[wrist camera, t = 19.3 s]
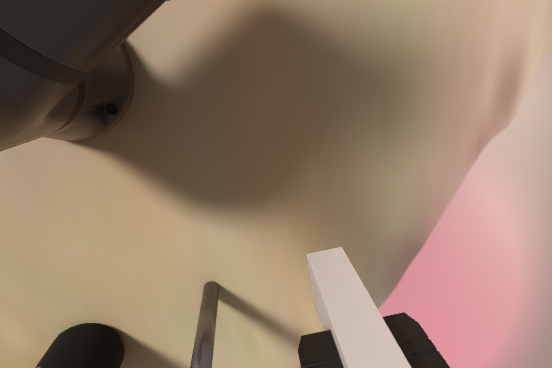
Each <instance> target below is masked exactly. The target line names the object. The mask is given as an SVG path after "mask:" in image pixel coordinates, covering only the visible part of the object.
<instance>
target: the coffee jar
mask: <svg viewBox="0 0 552 368" xmlns="http://www.w3.org/2000/svg"><path fill="white" fill-rule="evenodd" d="M123 358H124V346H123V344H122V341H121V339H120V337H119V335H118V334H116V333H115V332H114V331H113V330H112V329H110V328H108V327H106V326H104V325H99V324H95V323H84V324H80V325H76V326H74V327H71V328H69V329H67V330H65V331H64V332H62V333H60V334H59V335H58V337H57V338H56V339H55V340H54V342H53V343H52V344H51V346H50V347H49V349H48V350H47V352H46V353H45V355H44V356H43V357H42V359H41V360H40V362H39V363H38V365H37V366H36V368H120V366H121V364H122V361H123Z"/></svg>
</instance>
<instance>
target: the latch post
mask: <svg viewBox="0 0 552 368" xmlns="http://www.w3.org/2000/svg"><path fill="white" fill-rule="evenodd" d="M218 297H219V285H218V284H217V283H216V282H208V283H206V284H205V285H204V289H203V295H202V301H201V307H200V313H199V319H198V325H197V331H196V337H195V343H194V349H193V355H192V361H191V367H190V368H212V359H213V349H214V338H215V328H216V318H217V307H218Z"/></svg>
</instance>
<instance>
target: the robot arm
mask: <svg viewBox="0 0 552 368" xmlns="http://www.w3.org/2000/svg"><path fill="white" fill-rule="evenodd" d="M165 1H166V0H0V151H3V150H6V149H9V148H12V147H15V146H17V145H20V144H23V143H26V142H29V141H32V140H35V139H38V138H41V137H47V138H52V139H58V140H81V139H86V138H90V137H93V136H95V135H98V134H100V133H102V132H105V131H107V130H108V129H110V128H111V127H113V126H114V125H115V124H117V123H118V122H119V121H120V120H121V118H122V117H123V116H124V114H125V113H126V111H127V109H128V107H129V105H130V102H131V99H132V95H133V88H134V78H133V71H132V66H131V62H130V59H129V57H128V54H127V52H126V50H125V48H124V46H123V44H122V43H123V42H124V41H125V40H126V39H127V38H128V37H129V36H130V35H131V34H132V33H133V32H134V31H135V30H136V29H137V28H138V27H139V26H140V25H141V24H142V23H143V22H144V21H145V20H146V19H148V18H149V17H150V16H151V15H152V14H153V13H154V12H155V11H156V10H157V9H158V8H159V7H160V6H161V5H162V4H163V3H164V2H165ZM167 1H170V0H167ZM307 259H308V266H309V272H310V278H311V285H312V291H313V297H314V304H315V308H316V311H317V314H318V317H319V320H320V323H321V326H322V329H323V331H322V332H318V333H313V334H309V335H304V336H301V340H300V344H299V348H298V354H299V359H300V364H301V368H450V367H449V366H448V364H447V363H446V361H445V360H444V358H443V357H442V356H441V354H440V353H439V352H438V351H437V350H436V347H435V346H434V344H433V343H432V342H431V340H430V339H428V336H427V335H426V333H425V332H424V330H423V329H422V327H421V326H420V325H419V323H418V322H416V321H415V320H414V319H412V318H411V317H410V316H408V315H407V314H405V313H399V314H395V315H390V316H386V317H382V316H381V314H380V313H379V311H378V309H377V307H376V306H375V304H374V302H373V300H372V299H371V297H370V295H369V294H368V292H367V290H366V288H365V287H364V285H363V283H362V281H361V280H360V278H359V276H358V275H357V273H356V271H355V269H354V268H353V266H352V264H351V262H350V261H349V259H348V257H347V255H346V254H345V252H344V250H343V249H342V247H338V248H333V249H328V250H324V251H319V252H314V253H309V254H307Z"/></svg>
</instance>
